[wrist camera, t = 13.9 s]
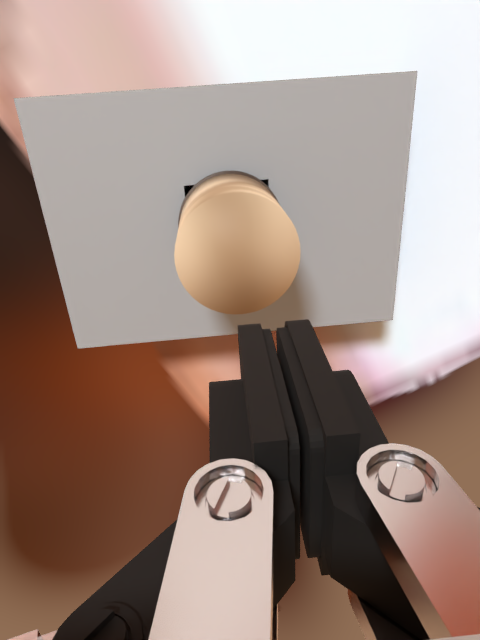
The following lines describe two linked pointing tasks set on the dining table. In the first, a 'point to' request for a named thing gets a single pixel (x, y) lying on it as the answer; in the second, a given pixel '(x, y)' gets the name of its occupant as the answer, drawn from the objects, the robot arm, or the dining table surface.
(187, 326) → the grey block with hole
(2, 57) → the dining table surface
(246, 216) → the maple peg
